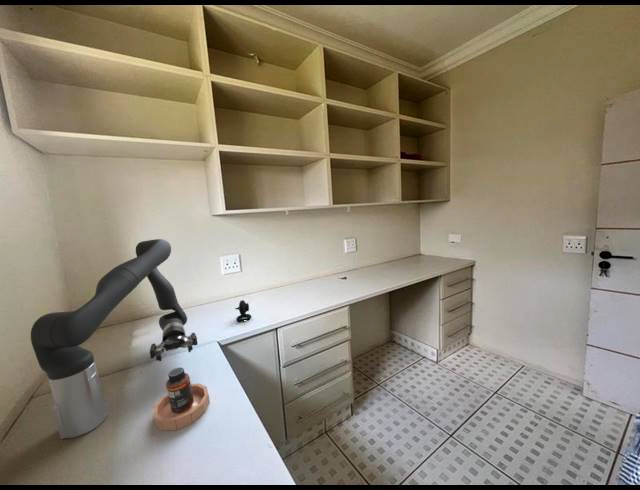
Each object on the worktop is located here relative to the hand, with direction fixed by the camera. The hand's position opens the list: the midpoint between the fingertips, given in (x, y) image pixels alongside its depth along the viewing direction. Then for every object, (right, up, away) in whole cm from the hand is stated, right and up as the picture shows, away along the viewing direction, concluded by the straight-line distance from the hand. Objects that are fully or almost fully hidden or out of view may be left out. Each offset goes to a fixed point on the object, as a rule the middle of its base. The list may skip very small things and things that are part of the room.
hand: (174, 354), depth 84 cm
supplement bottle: (+7, -12, -9) cm, 16 cm away
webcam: (+8, -3, +50) cm, 51 cm away
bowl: (+7, -13, -9) cm, 17 cm away
